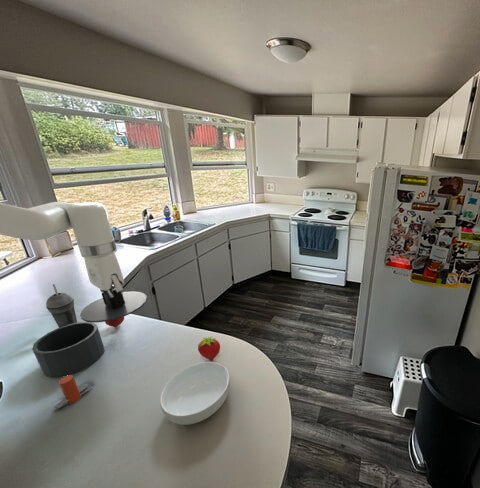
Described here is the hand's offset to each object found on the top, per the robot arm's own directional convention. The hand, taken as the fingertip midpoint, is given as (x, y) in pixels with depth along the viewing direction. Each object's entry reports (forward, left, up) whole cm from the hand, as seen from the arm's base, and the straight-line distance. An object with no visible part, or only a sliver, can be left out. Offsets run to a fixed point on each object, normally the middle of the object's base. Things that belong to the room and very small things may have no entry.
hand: (115, 304), depth 75 cm
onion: (+6, +25, -23) cm, 34 cm away
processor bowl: (-9, +17, -22) cm, 29 cm away
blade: (-15, -1, -22) cm, 27 cm away
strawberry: (+14, -21, -23) cm, 34 cm away
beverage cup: (-4, +38, -23) cm, 44 cm away
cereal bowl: (+2, -32, -23) cm, 39 cm away
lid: (0, 0, -1) cm, 1 cm away
